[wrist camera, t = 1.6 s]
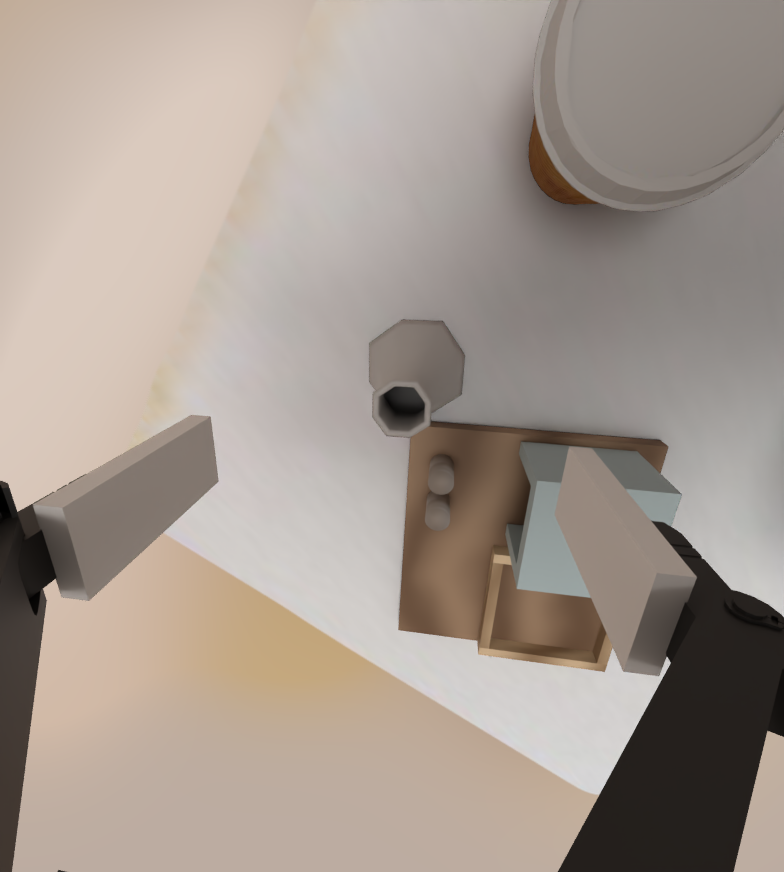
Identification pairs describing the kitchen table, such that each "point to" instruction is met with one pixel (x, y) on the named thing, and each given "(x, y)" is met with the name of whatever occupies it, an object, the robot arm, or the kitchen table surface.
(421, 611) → the board
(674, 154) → the disposable coffee cup
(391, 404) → the flask
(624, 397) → the kitchen table surface
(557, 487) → the pale blue block
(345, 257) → the kitchen table surface
